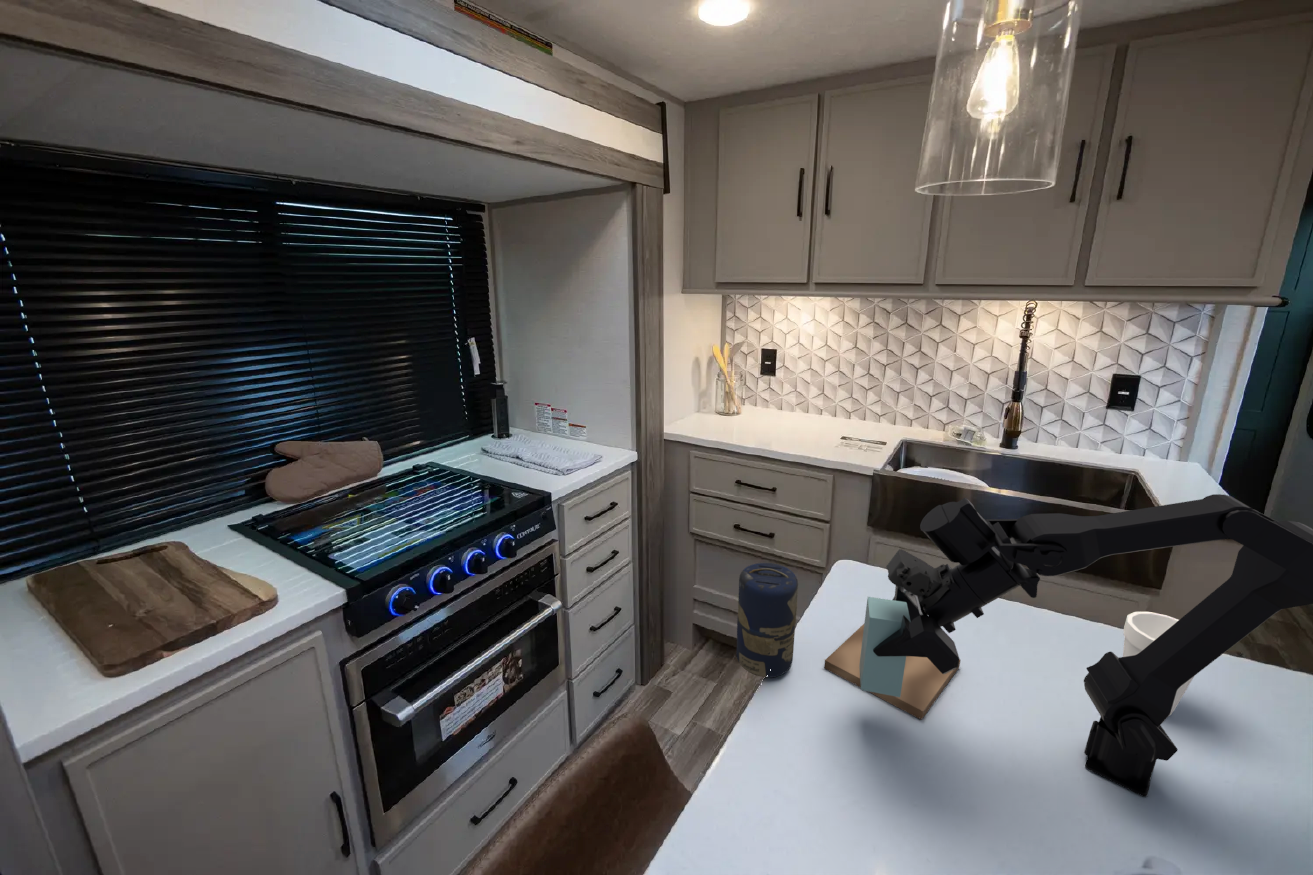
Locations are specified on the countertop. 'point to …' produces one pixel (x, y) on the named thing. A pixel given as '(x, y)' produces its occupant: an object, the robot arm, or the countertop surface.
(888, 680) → the tall sage green block
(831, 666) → the stand
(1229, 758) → the countertop surface
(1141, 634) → the foam cup
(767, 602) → the canister
